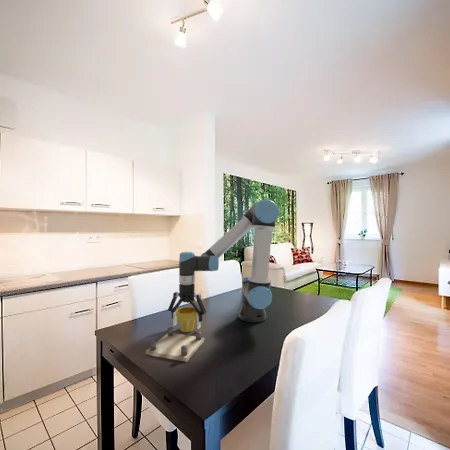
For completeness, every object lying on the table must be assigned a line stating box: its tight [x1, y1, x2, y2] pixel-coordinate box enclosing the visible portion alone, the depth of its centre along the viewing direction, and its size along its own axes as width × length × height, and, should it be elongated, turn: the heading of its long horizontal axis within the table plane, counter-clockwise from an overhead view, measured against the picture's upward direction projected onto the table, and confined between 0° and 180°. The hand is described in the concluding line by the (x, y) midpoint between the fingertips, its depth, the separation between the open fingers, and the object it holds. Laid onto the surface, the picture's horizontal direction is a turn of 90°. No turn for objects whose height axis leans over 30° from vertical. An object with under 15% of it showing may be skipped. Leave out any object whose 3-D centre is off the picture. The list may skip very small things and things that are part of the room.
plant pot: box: [176, 306, 198, 333], centre depth 125 cm, size 10×10×10 cm
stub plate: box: [145, 326, 205, 362], centre depth 107 cm, size 18×18×4 cm
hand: (186, 326), depth 125 cm, fingers open, 12 cm apart
